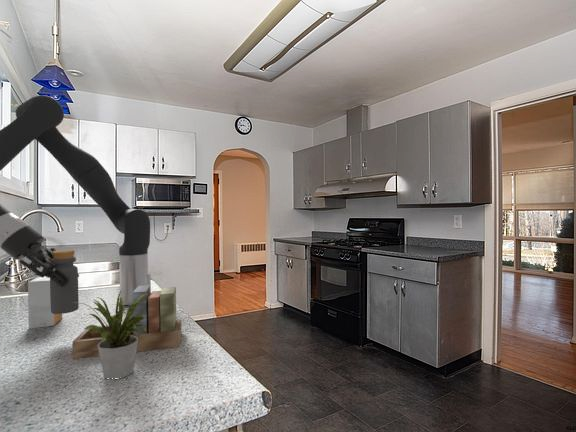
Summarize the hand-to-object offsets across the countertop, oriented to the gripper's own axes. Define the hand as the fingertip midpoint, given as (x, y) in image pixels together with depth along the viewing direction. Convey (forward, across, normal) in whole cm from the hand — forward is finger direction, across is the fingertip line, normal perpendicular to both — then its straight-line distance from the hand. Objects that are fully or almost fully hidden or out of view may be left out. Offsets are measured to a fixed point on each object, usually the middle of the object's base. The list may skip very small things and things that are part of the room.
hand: (71, 281), depth 85 cm
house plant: (+21, -24, 0) cm, 32 cm away
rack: (+21, -8, 0) cm, 23 cm away
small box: (+2, +17, +19) cm, 26 cm away
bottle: (+4, 0, +6) cm, 8 cm away
